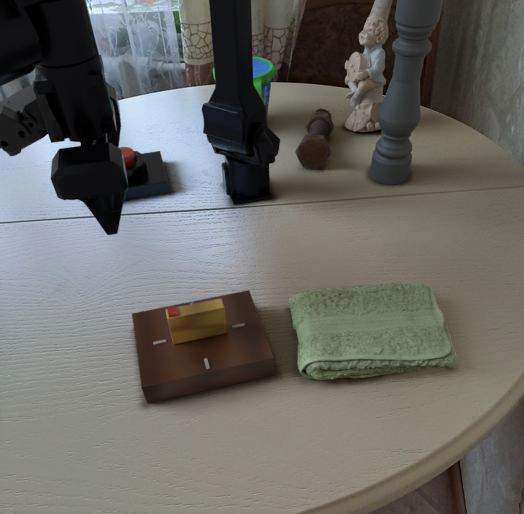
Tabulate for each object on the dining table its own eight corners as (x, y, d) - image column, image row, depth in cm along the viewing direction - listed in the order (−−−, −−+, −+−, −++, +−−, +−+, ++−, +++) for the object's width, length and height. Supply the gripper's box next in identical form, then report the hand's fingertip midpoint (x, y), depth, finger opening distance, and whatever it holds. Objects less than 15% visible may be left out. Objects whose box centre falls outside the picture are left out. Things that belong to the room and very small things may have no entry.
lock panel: (250, 307, 62) (249, 288, 59) (274, 375, 55) (274, 356, 53) (137, 330, 60) (131, 312, 57) (147, 404, 53) (140, 386, 50)
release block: (162, 162, 85) (158, 140, 82) (170, 193, 79) (166, 170, 76) (91, 174, 84) (84, 151, 81) (93, 206, 77) (86, 183, 74)
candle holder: (365, 180, 80) (391, -5, 61) (374, 161, 84) (402, -19, 65) (404, 187, 78) (443, -1, 59) (411, 168, 82) (451, -15, 63)
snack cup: (212, 110, 98) (206, 53, 90) (264, 104, 99) (263, 47, 92) (225, 148, 88) (220, 88, 80) (283, 140, 89) (284, 80, 82)
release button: (134, 155, 80) (132, 145, 79) (137, 166, 78) (134, 156, 76) (112, 159, 80) (109, 148, 78) (113, 170, 77) (110, 159, 76)
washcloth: (461, 374, 54) (469, 355, 52) (299, 387, 54) (300, 368, 51) (425, 292, 63) (431, 272, 60) (286, 303, 62) (286, 283, 60)
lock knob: (224, 323, 56) (221, 296, 53) (227, 333, 55) (224, 305, 52) (171, 334, 55) (164, 307, 52) (173, 344, 54) (166, 317, 51)
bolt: (325, 136, 93) (315, 176, 83) (302, 121, 92) (290, 160, 82) (343, 109, 89) (335, 148, 79) (319, 93, 88) (309, 130, 78)
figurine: (373, 111, 96) (391, -14, 81) (398, 129, 91) (422, -1, 76) (333, 121, 94) (343, -6, 79) (356, 140, 89) (372, 8, 73)
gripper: (-18, 30, 49) (40, 177, 60) (-50, 112, 37) (30, 275, 48) (98, 18, 50) (133, 164, 62) (104, 94, 38) (145, 256, 50)
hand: (110, 209), depth 55 cm, fingers open, 9 cm apart
